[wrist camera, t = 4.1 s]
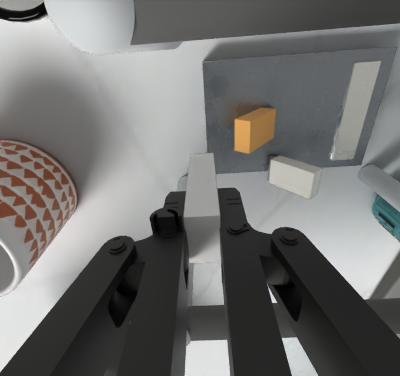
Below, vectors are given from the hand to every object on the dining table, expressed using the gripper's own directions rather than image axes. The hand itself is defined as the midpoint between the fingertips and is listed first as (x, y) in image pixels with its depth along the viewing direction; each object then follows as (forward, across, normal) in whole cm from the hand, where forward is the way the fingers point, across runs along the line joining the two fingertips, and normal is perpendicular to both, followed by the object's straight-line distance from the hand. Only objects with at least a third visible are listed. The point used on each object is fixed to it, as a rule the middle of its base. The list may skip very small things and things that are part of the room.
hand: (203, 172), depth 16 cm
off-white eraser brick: (+11, +7, -6) cm, 15 cm away
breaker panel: (+14, +9, 0) cm, 17 cm away
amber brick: (+11, +7, 0) cm, 14 cm away
